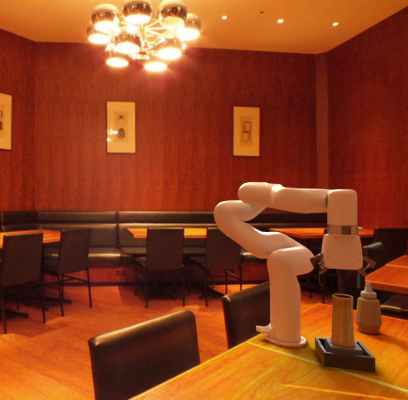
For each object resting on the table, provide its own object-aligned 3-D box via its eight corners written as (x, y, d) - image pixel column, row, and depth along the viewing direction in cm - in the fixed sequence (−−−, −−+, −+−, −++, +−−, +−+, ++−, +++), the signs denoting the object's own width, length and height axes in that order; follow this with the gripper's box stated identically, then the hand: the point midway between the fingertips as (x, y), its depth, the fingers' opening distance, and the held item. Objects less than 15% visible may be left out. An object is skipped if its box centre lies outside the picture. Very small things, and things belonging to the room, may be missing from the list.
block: (331, 364, 110) (331, 347, 110) (324, 353, 117) (324, 337, 117) (363, 367, 107) (363, 350, 107) (354, 356, 115) (354, 340, 115)
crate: (324, 368, 108) (324, 352, 108) (314, 351, 120) (314, 337, 120) (375, 374, 104) (375, 358, 104) (360, 355, 116) (360, 341, 116)
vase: (359, 347, 109) (359, 298, 109) (338, 347, 109) (338, 298, 109) (346, 339, 115) (346, 293, 115) (326, 339, 115) (326, 293, 115)
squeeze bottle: (383, 337, 131) (383, 285, 131) (355, 333, 136) (355, 283, 136) (381, 330, 138) (381, 281, 138) (355, 326, 143) (354, 279, 142)
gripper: (371, 230, 113) (370, 286, 113) (307, 228, 118) (306, 282, 119) (380, 232, 106) (380, 293, 106) (312, 231, 111) (311, 288, 112)
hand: (341, 287), depth 113 cm, fingers open, 9 cm apart
